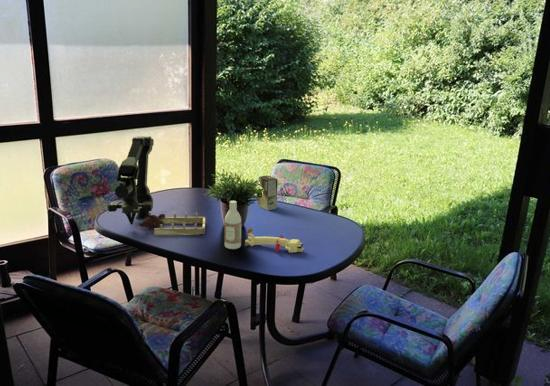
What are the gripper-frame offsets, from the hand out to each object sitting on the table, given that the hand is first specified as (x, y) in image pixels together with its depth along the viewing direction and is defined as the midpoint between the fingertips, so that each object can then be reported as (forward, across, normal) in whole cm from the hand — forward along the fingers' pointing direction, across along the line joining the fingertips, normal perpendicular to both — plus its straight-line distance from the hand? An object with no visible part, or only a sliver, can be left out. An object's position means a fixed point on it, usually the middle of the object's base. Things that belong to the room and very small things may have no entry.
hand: (131, 224), depth 221 cm
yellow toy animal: (+3, +63, -23) cm, 67 cm away
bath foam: (+3, +45, -20) cm, 50 cm away
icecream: (+3, +9, +1) cm, 9 cm away
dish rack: (+2, +22, 0) cm, 22 cm away
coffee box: (+3, +64, +30) cm, 71 cm away
